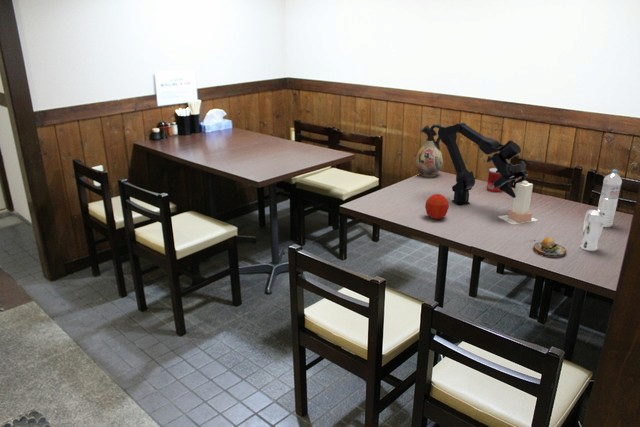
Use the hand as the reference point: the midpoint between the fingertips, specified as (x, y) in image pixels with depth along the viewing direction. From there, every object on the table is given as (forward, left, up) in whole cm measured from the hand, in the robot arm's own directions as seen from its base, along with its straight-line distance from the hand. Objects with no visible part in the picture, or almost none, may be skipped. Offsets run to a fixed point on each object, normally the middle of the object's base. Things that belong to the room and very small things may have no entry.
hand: (520, 195), depth 225 cm
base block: (0, -1, -11) cm, 11 cm away
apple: (-32, +16, -12) cm, 38 cm away
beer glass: (+7, -33, -12) cm, 36 cm away
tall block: (0, -1, -7) cm, 8 cm away
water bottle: (+32, -17, -12) cm, 39 cm away
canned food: (+18, +39, -12) cm, 45 cm away
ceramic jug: (0, +74, -12) cm, 75 cm away
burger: (-10, -30, -13) cm, 34 cm away
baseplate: (0, 0, -12) cm, 12 cm away
